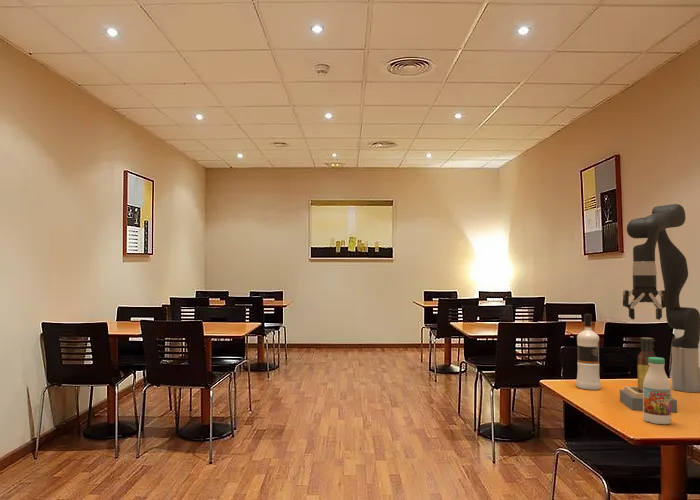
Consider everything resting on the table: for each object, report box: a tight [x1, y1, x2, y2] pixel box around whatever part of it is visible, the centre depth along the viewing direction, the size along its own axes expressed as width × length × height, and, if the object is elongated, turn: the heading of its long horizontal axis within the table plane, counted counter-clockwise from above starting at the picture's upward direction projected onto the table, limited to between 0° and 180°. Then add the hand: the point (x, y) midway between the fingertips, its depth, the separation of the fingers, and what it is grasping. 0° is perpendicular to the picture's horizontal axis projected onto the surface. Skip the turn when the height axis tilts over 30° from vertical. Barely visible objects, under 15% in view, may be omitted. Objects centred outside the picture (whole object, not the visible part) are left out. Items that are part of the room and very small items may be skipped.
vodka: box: [575, 313, 602, 391], centre depth 223 cm, size 9×9×30 cm
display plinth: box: [619, 385, 678, 413], centre depth 193 cm, size 14×14×6 cm
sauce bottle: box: [636, 337, 657, 393], centre depth 193 cm, size 7×6×20 cm
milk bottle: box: [642, 356, 672, 425], centre depth 173 cm, size 8×8×20 cm
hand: (645, 319), depth 196 cm, fingers open, 8 cm apart
